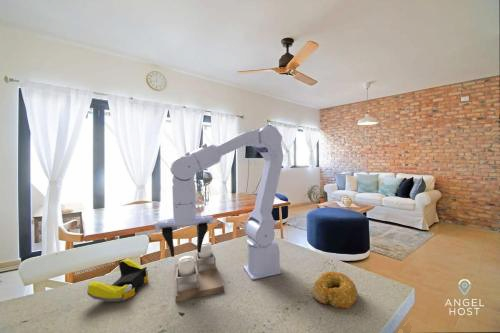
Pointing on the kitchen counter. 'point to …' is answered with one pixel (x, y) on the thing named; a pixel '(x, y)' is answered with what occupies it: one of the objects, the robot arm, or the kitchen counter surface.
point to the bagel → (335, 290)
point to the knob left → (186, 266)
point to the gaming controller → (121, 283)
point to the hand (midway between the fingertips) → (186, 253)
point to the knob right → (205, 250)
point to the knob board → (198, 280)
